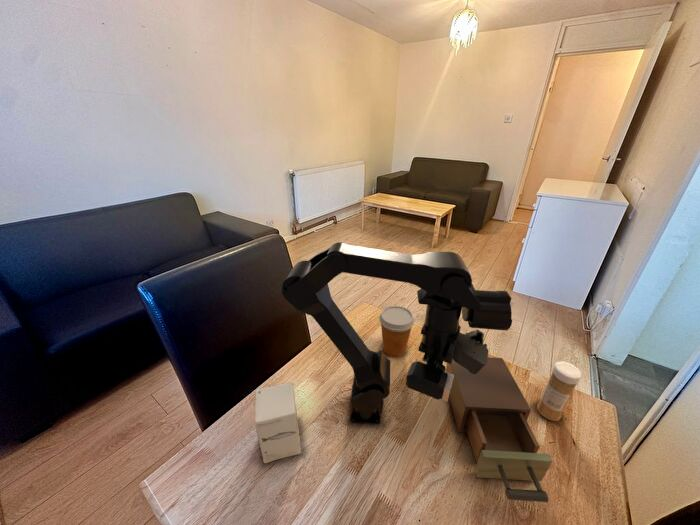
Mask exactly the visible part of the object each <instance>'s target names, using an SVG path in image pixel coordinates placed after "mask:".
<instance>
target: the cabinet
mask: <svg viewBox="0 0 700 525" xmlns="http://www.w3.org/2000/svg"><path fill="white" fill-rule="evenodd" d="M445 368H446V369H445V372H448V373H451V374H453V375H454V379H453V383H452V387H451V391H450V395H449V399H448V400H449V402H450V407H451V409H452V412H453V417H454V420H455V424H456V428H457V430H458V432H459V433H467V430H466V427H465V422H466V418H467V415H468V411H469V409H471V410H490V411H509V412H522V413H523V415H524V417H525V419H526V420H527V421H528V418H529V416H530V414H531V412H532V409H531V407H530V405H529V403H528V401H527V400H526V398H525V396H524V394H523V392H522V391H521V389H520V387H519V385H518V384H517V382H516V380H515V378H514V376H513V374H512V373H511V371H510V369H509V367H508V365H507V364H506V362H505V360H504V358H503V357H491V356H488V359H487V364H486V365H485V366H484V367H483V368H482V369H481V370H480V371H479V372H478V373H477V374H472V373H470V372H469V370H467V369H466V368H464V367H463V366H461V365H459V364H458V363H456V362H455V361H454V359H452V363H451V364H449V363H446V366H445Z"/></svg>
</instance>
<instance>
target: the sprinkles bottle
mask: <svg viewBox="0 0 700 525" xmlns="http://www.w3.org/2000/svg"><path fill="white" fill-rule="evenodd" d="M582 376H583V375H582V372H581V370H580V369H579V368H578V367H576V365H574V364H572V363H570V362H567V361H557V362H555V363H554V365H553V367H552V372H551V375H550V377H549V379H548V381H547V383H546V385H545V388H544V390H543V392H542V395H541V398H540V400H539V402H538V403H537V404H536V405H537V406H536V407H537V408H536V409H537V411H538V413H539V414H540V415H541V416H542V417H544V418H545V419H546V420H549V421H553V422H556V421H559V420H561V418H562V414H563V412H564V410H565V409H566V407H567V405H568V403H569V401H570V398H571V396H572V394H573V392H574V390H575V388H576V386H578V384H579V383H580V381H581V379H582Z"/></svg>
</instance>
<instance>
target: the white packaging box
mask: <svg viewBox="0 0 700 525" xmlns="http://www.w3.org/2000/svg"><path fill="white" fill-rule="evenodd" d="M295 394H296V393H295V387H294V381H289V382H283V383H280V384H276V385H271V386H266V387H261V388H256V389H255V390H254V425H255V429H256V435H257V438H258V444H259V447H260V452H261V456H262V457H261V458H262V460H263V464H267V463H268V464H269V463H271V462H273V461H277V460H281V459H285V458H289V457H292V456H296V455H299V454H302V446H301V439H300V438H301V437H300V428H299V420H298V412H297V405H296V404H297V402H296V395H295Z"/></svg>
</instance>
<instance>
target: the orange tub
mask: <svg viewBox="0 0 700 525" xmlns="http://www.w3.org/2000/svg"><path fill="white" fill-rule="evenodd" d="M378 319H379V323H380V327H381V328H380V329H381V337H382V338H381V339H382V349H383V352H384V353H385V354H387V355H388V356H391V357H400V356H403V355H404V354H405V353H406V350H407V346H408V342H409V339H410V335H411V331H412V328H413V326H414V325H415V322H416V318H415V317H414V313H413V312H412V311H411V310H410V309H409V308H407V307H405V306H403V305H402V306H401V305H388V306H385V307H384V308H383V309H382V310H381V311H380V314H379V316H378Z"/></svg>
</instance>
